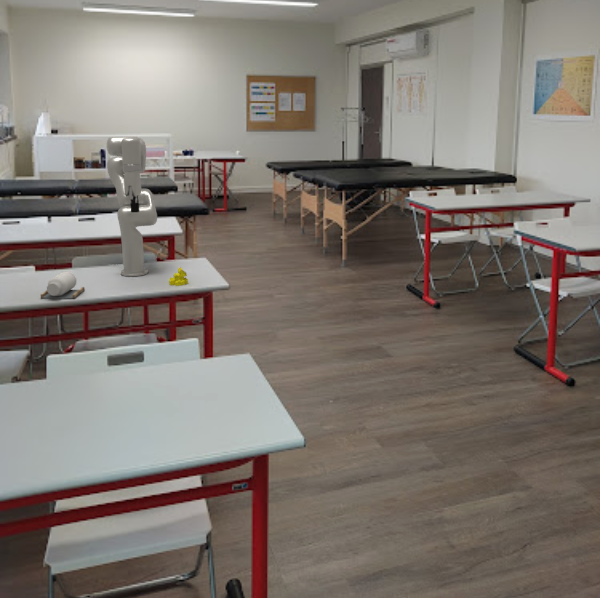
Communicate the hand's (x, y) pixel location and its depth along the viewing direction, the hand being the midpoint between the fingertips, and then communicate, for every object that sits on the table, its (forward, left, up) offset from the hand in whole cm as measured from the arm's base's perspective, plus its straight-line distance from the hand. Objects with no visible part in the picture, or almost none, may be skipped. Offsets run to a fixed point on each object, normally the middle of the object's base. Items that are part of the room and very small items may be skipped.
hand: (135, 211), depth 291 cm
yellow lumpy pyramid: (-2, +16, -32) cm, 36 cm away
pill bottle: (+9, -28, -28) cm, 41 cm away
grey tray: (+17, -28, -32) cm, 46 cm away
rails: (+17, -28, -32) cm, 46 cm away
